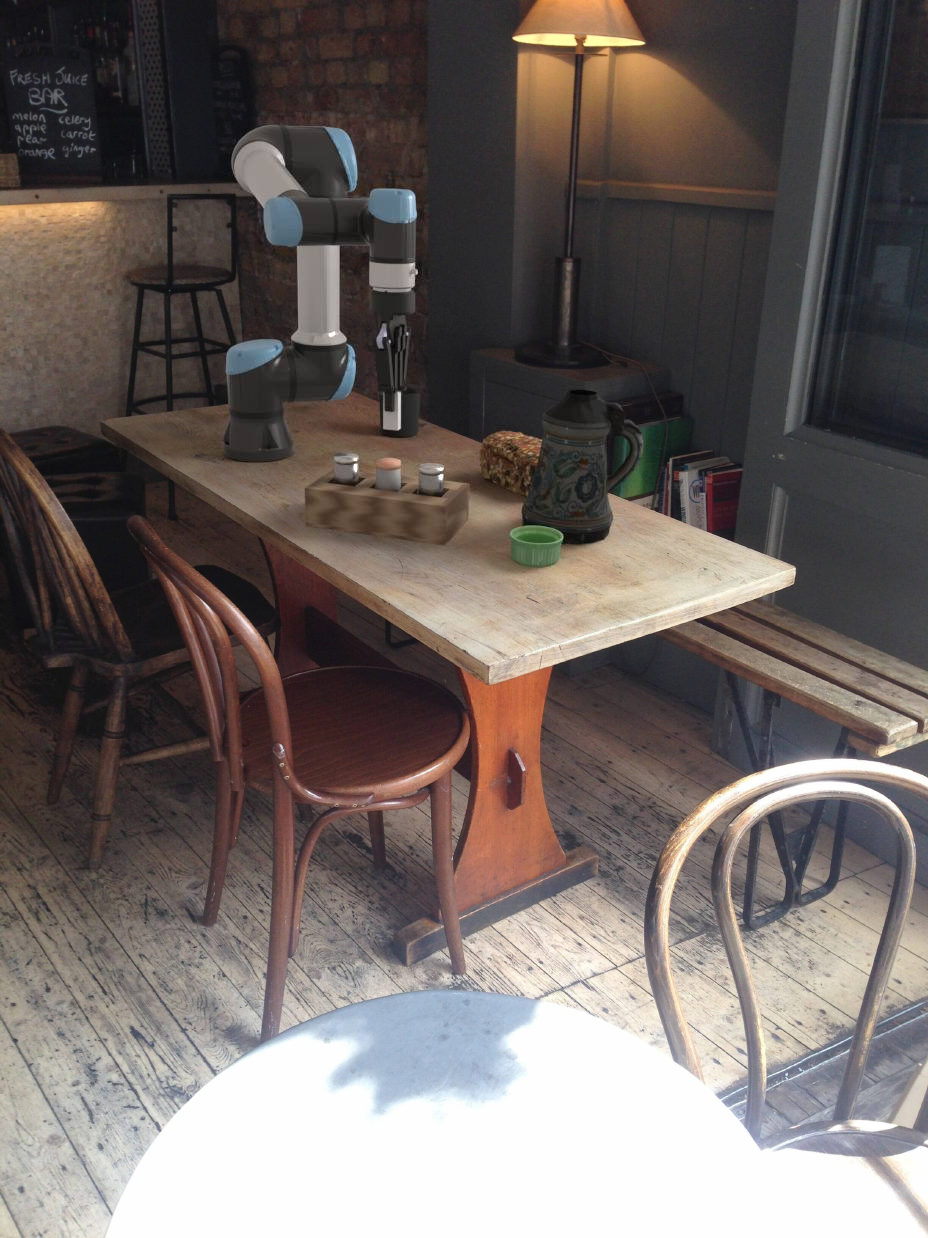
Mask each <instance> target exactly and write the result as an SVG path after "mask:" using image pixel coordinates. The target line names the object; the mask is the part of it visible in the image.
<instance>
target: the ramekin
mask: <svg viewBox="0 0 928 1238" xmlns="http://www.w3.org/2000/svg"><path fill="white" fill-rule="evenodd" d="M508 536H509V539H510V555H511V559H512V560H513V561H514V562H516V563H517V564H519V565H523V566H527V567H536V568H537V567H538V568H539V567H540V568H541V567H548V566H552V565H554V564H556V563H558V561H559V560H560V554H561V550H562V549H561V548H562V544H561V543H562V541H563V534H562V533H561V532H560V531H558V530H556V529H553V528H550V527H545V526H523V525H522V526H518V527H515V528H512V529H511V530H510V531H509V535H508Z"/></svg>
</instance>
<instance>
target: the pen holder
mask: <svg viewBox="0 0 928 1238" xmlns="http://www.w3.org/2000/svg"><path fill="white" fill-rule="evenodd" d="M405 387H406V390H405V391H402V390H400V391H401V429H399V430H388V429H383V392H378V396H379V397H378V398H379V421H380V422H379V424H380V425H379V426H380V432H381V434H382V435H383V436H386V437H390V438H399V439H401V438H402V439H405V438H412V437H415V436H416V435H417V434H418V432H419V421H420V420H419V419H420V418H419V417H420V406H421V405H420V404H421V402H420V400H421V393H419V392H418V391H417V390H416V389H415V388H414V387H411V386H405Z"/></svg>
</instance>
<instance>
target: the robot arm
mask: <svg viewBox="0 0 928 1238" xmlns="http://www.w3.org/2000/svg"><path fill="white" fill-rule="evenodd" d="M231 170H232V173H233V176H234V178H235V179H236V181H237V182H238V184H239V185H240V187H241V188H242V189H243V190H244V191H246V192H248V193H250V194H252V195H253V196H254V197H255V199H256V200H257V201H258V203H259V204H260V205H261V207H262V208H263V226H264V233H265V236H266V239H267V241H268V242H269V243H270V245H273V246H286V247H287V248H293V247H296V255H297V256H296V258H297V259H296V260H297V261H296V262H297V266H296V267H297V318H298V319H297V321H298V323H297V325H298V326H297V327H298V328H297V330H296V331H295V332H293V334H292V335H291V337H290V339H291V340H290V343H291V344H290V345H291V346H284V344H283V343H282V341H280V340H279V339H273V338H269V339H266V338H264V339H263V338H260V339H253V340H248V341H247V340H246V341H243V342H240V343H237V344H235V345H232V346H231V347H230V348H229V349H228V350H227V352H226V357H225V360H226V363H225V364H226V365H225V373H226V384H227V385H226V388H227V399H228V401H227V402H228V422H227V424H226V427H225V428H226V429H225V432H224V435H223V439H222V445H221V446H222V447H221V448H222V454H223V456H225V457H226V458H228V459H231V460H236V461H242V462H252V463H253V462H259V463H260V462H271V461H278V460H283V459H286V458H289V457H291V456H293V454H294V452H295V448H294V446H295V445H294V444H295V443H294V440H293V437H292V434H291V431H290V428H289V425H288V423H287V420H286V417H285V404H293V403H295V404H296V403H309V402H310V403H311V402H312V403H313V402H314V403H315V402H330V401H339V400H344V399H345V398H347V397H349V394H350V393H351V391H352V389H353V386H354V383H355V378H356V372H357V371H356V369H357V368H356V367H357V365H356V354H355V349H354V348H353V347H352V345H350V344H348V343H347V340H348V339H347V337H346V336H345V335H344V333H342V332H341V330H340V246H342V247H343V246H346V247H347V246H350V247H351V246H352V247H353V246H354V247H355V246H356V247H358V246H359V247H362V246H366V247H368V246H369V269H368V270H369V276H368V277H369V286H370V287H372V289H370V291H369V311H370V312H371V313H372V314H375V315H378V316H379V319H378V325H377V335H373V336H372V341H371V342H372V345H373V350H374V356H375V357H374V358H375V367H376V368H375V369H376V380H377V392H378V393H379V392H383V429H388V430H399V429H401V391H400V390H402V391H405V390H406V387H407V386H405V385H406V382H407V381H406V380H407V369H408V358H409V348H410V345H409V344H410V339H411V335H412V333H411V332H412V328H411V326H407V320H406V316H409V315H412V314H414V313H415V312H416V311H415V310H416V292H415V291H414V289H413V288H414V287H415V286H416V283H415V282H416V281H415V280H416V276H417V275H418V273H419V272H418V269H417V268H416V242H417V240H416V238H417V237H416V236H417V235H416V232H417V231H416V229H417V217H418V212H417V204H416V203H417V202H416V194H415V193H414V192H413V190H411V189H402V188H374V189H372V190H371V191H370V194H369V197H367V196H364V197H363V196H362V197H360V198H357V197H356V198H354V197H353V198H351V197H350V198H348V193H351V192H353V191H355V189H356V187H357V181H358V164H357V157H356V152H355V149H354V146H353V143H352V141H351V138H350V136H349V134H348V133H347V132H346V131H345V130H344V129H341V128H337V127H331V126H324V125H321V126H318V125H314V126H313V125H307V126H306V125H278V124H269V125H268V124H267V125H263V126H260V127H255V128H254V129H252V130H250V131H248V132H247V133H246V134H245V135H244V136H242V137H241V138H240V139H239V140H238V141H237V144H236V145H235V147H234V148H233V152H232V155H231Z"/></svg>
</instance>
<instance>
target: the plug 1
mask: <svg viewBox="0 0 928 1238" xmlns="http://www.w3.org/2000/svg"><path fill="white" fill-rule="evenodd" d="M333 469H334V484H340V485H347V486H356V485H358V484H359V470H360V456H359V454H356V453H353V452H338V453H336V454H334V455H333Z"/></svg>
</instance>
